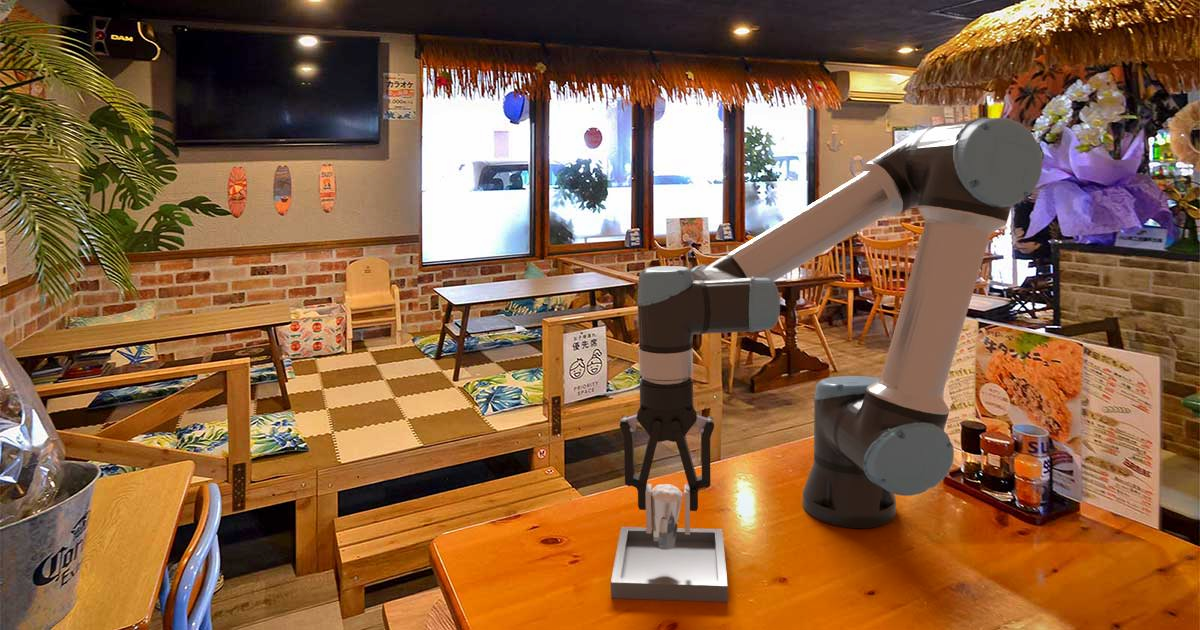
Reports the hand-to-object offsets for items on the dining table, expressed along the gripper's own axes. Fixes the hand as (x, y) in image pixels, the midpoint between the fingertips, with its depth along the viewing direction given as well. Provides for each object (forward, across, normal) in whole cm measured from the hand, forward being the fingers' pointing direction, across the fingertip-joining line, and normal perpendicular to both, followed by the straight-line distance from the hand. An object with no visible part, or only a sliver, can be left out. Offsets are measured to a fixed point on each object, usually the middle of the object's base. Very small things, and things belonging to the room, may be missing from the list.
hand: (668, 529), depth 105 cm
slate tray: (+6, 0, 0) cm, 6 cm away
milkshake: (+3, 0, 0) cm, 3 cm away
